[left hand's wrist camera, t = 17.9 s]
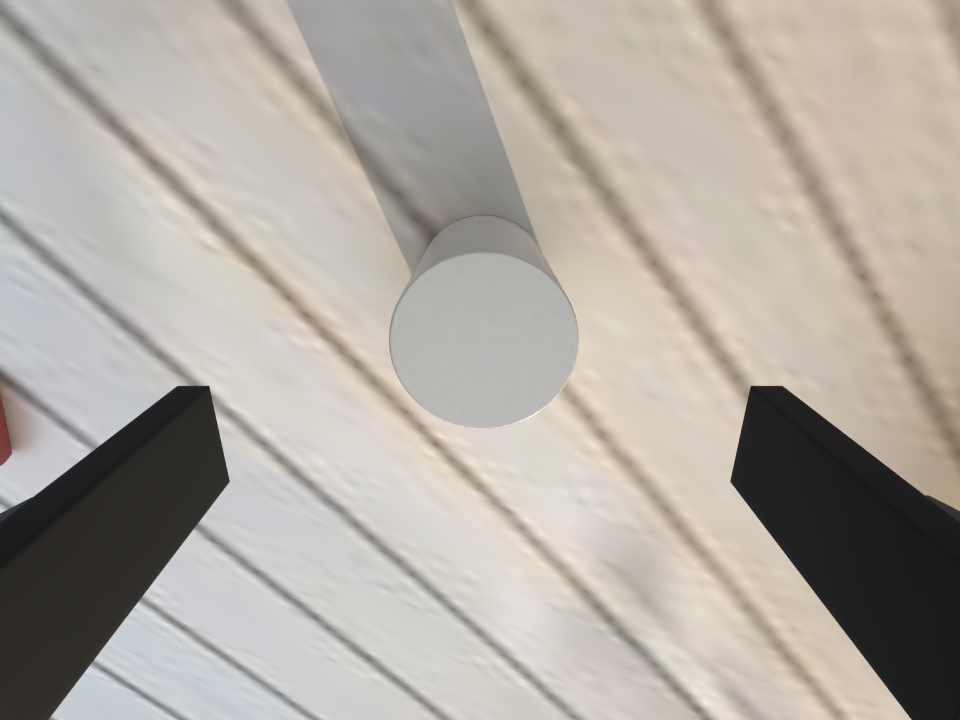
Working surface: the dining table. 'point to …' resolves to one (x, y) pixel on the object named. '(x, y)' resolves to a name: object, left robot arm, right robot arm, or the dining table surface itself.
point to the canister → (483, 326)
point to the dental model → (4, 438)
